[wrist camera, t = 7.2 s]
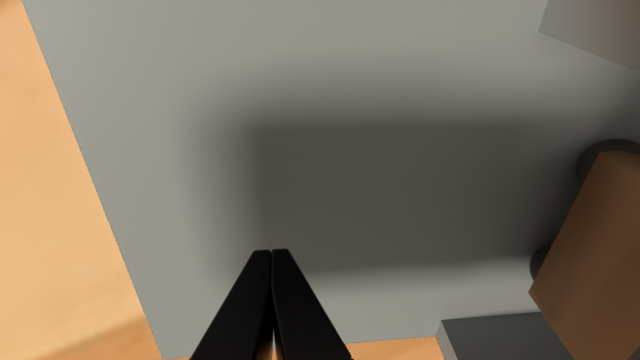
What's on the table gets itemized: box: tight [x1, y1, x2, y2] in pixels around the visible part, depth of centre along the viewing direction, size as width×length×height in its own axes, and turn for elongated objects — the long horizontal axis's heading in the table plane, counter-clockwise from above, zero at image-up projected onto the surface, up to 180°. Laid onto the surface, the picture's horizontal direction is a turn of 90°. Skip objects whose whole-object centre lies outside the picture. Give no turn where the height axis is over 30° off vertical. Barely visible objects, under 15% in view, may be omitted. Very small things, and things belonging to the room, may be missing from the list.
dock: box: [22, 0, 640, 360], centre depth 10 cm, size 20×12×3 cm, turn 89°
